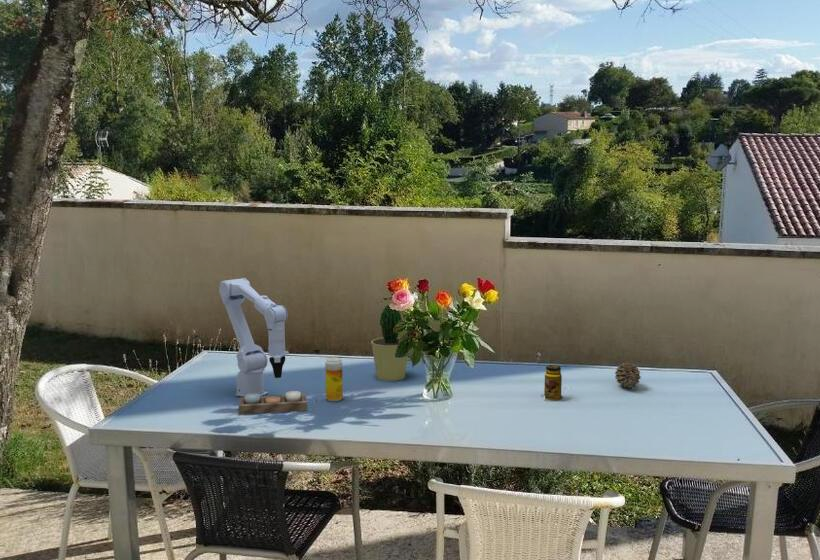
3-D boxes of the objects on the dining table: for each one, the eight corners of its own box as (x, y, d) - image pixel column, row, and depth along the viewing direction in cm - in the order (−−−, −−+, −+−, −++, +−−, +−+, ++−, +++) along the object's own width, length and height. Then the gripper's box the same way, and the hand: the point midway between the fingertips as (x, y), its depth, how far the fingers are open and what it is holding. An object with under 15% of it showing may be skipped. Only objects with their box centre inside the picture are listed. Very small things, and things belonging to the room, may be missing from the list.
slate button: (244, 405, 261) (244, 398, 261) (245, 401, 266) (245, 393, 266) (260, 404, 262) (259, 397, 262) (260, 400, 267) (260, 392, 267)
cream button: (285, 403, 264) (285, 395, 263) (285, 399, 269) (285, 391, 268) (301, 402, 265) (300, 394, 264) (300, 398, 270) (300, 390, 269)
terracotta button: (265, 408, 263) (265, 401, 262) (265, 404, 268) (265, 396, 267) (280, 408, 264) (280, 400, 263) (280, 403, 269) (280, 395, 268)
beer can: (340, 402, 272) (339, 361, 270) (323, 401, 274) (323, 360, 271) (344, 397, 278) (344, 357, 276) (328, 396, 279) (328, 356, 277)
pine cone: (644, 393, 282) (645, 367, 280) (617, 392, 283) (618, 367, 281) (632, 377, 304) (633, 353, 302) (608, 376, 305) (608, 352, 303)
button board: (239, 414, 259) (238, 406, 259) (240, 405, 269) (239, 397, 268) (307, 410, 263) (306, 402, 263) (305, 402, 273) (305, 394, 272)
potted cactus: (363, 377, 304) (362, 304, 300) (389, 370, 316) (388, 299, 311) (392, 384, 294) (391, 308, 290) (417, 376, 306) (417, 303, 301)
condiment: (545, 401, 273) (545, 369, 271) (540, 394, 281) (541, 362, 280) (565, 401, 273) (566, 368, 272) (559, 394, 282) (560, 362, 280)
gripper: (288, 344, 262) (289, 382, 264) (287, 335, 276) (288, 371, 278) (267, 345, 261) (269, 383, 263) (268, 336, 275) (269, 372, 277)
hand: (277, 377), depth 271 cm, fingers closed
